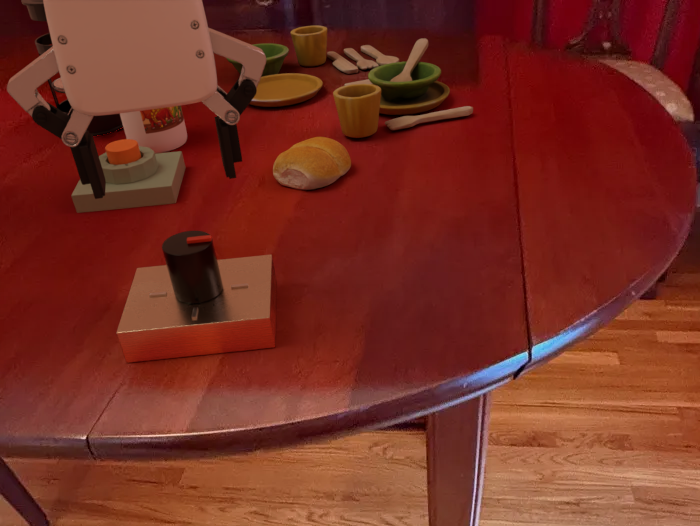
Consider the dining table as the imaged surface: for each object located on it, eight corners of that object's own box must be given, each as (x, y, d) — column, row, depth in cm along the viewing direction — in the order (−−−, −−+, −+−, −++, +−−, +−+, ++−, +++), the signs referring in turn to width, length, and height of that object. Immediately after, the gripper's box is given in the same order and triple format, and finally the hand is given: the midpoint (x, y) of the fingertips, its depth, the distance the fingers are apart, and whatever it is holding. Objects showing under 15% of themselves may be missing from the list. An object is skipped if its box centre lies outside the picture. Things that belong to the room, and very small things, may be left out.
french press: (65, 118, 106) (6, -62, 92) (131, 109, 107) (82, -71, 93) (59, 147, 97) (-7, -48, 83) (130, 136, 98) (77, -58, 84)
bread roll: (361, 164, 86) (359, 131, 83) (323, 196, 80) (319, 161, 77) (303, 155, 89) (299, 123, 87) (262, 184, 83) (256, 151, 81)
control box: (77, 213, 80) (65, 179, 78) (95, 176, 88) (85, 145, 86) (176, 204, 81) (167, 170, 78) (185, 168, 89) (178, 136, 86)
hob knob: (172, 306, 59) (157, 254, 56) (177, 280, 62) (164, 229, 59) (221, 300, 59) (209, 248, 56) (224, 275, 62) (213, 224, 59)
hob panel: (126, 363, 58) (115, 331, 56) (145, 296, 66) (136, 266, 64) (275, 347, 58) (269, 315, 56) (276, 282, 66) (271, 252, 64)
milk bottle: (128, 159, 92) (79, -16, 80) (130, 137, 98) (85, -28, 85) (189, 150, 93) (150, -24, 80) (188, 130, 99) (151, -35, 86)
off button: (106, 167, 81) (101, 152, 80) (112, 155, 84) (108, 140, 82) (138, 164, 81) (134, 149, 80) (143, 152, 84) (139, 137, 83)
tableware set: (483, 118, 95) (485, 68, 91) (279, 160, 88) (272, 108, 84) (373, 45, 126) (370, 5, 122) (215, 72, 119) (208, 31, 115)
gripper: (238, -103, 48) (271, 146, 59) (-37, -79, 45) (51, 178, 56) (254, -89, 42) (287, 184, 53) (-60, -62, 40) (42, 221, 50)
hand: (166, 181), depth 55 cm, fingers open, 9 cm apart
